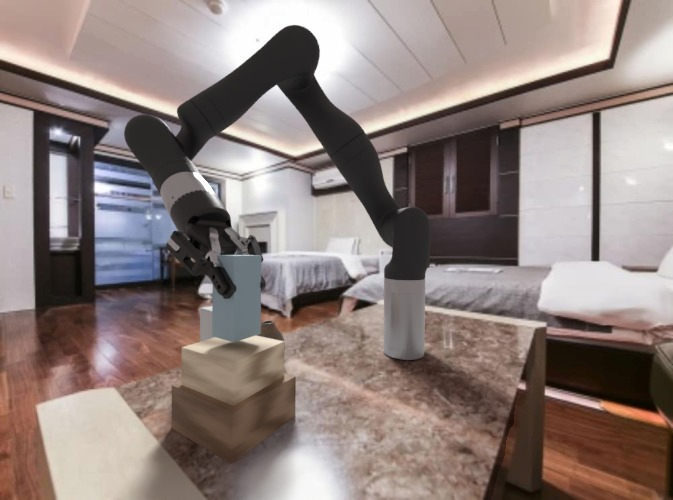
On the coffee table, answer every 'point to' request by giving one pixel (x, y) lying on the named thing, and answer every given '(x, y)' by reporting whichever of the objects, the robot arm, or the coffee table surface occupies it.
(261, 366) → the tower top
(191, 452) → the coffee table surface
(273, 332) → the vase
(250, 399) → the tower base
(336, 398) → the coffee table surface
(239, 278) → the block
